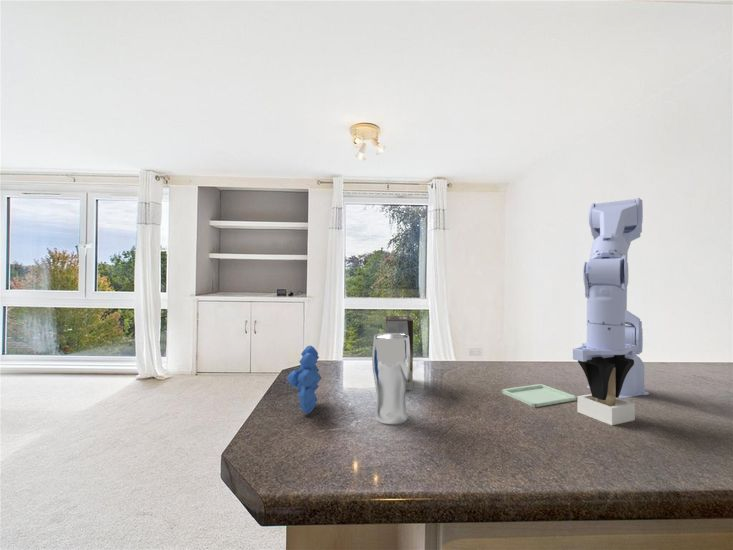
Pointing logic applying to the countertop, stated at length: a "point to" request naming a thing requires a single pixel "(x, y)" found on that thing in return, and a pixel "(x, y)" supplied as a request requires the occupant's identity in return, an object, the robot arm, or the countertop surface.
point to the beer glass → (391, 376)
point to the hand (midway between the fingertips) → (605, 397)
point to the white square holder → (606, 410)
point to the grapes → (306, 379)
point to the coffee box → (403, 327)
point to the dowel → (610, 391)
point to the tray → (538, 395)
